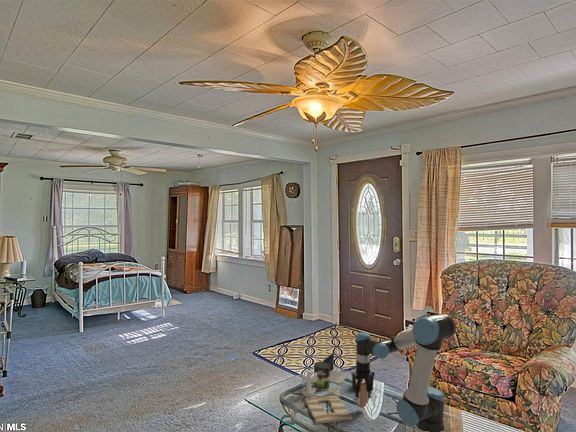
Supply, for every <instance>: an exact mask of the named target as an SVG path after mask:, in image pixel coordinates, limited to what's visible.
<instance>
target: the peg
mask: <svg viewBox="0 0 576 432" xmlns="http://www.w3.org/2000/svg"><path fill="white" fill-rule="evenodd" d="M359 392H360V404H358V405H359V406H360V407H362V408H363V407H367V403H366V383H365V381H363V382H361V385H360V390H359Z"/></svg>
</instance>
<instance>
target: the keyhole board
mask: <svg viewBox="0 0 576 432" xmlns="http://www.w3.org/2000/svg"><path fill="white" fill-rule="evenodd" d="M304 402H305V404H306V406H307V408H308V410H309V412H310V414H311V416H312V418H313V420H314V422H315V424H317V425H318V424H329V423H340V422H350V421H353V419H354V418H353V415H351V413H350V412H349V410H348V409H347V407H346V406H345V405H344V403H343V402H342V400H341V398H339V396H338V395H330V396H329V395H328V396H326V395H325V396H315V397H311V398H309V397H304ZM321 403H328V404H329V405H330V409H331V411H332V412H329V413H327V412H326V410H325V409H324V407H323V406H321V405H320V404H321Z"/></svg>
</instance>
